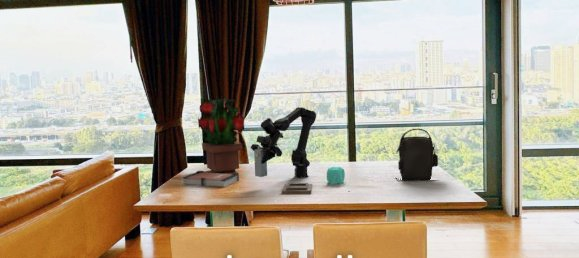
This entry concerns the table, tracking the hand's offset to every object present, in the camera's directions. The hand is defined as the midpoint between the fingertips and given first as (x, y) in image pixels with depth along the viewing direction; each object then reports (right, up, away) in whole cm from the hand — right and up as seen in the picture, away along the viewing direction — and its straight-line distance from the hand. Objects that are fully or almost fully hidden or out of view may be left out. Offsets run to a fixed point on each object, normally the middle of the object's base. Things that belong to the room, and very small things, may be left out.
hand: (258, 162), depth 248 cm
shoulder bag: (+86, -10, +12) cm, 87 cm away
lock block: (+1, -7, +2) cm, 7 cm away
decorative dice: (+41, -12, +10) cm, 44 cm away
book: (-28, -13, +18) cm, 36 cm away
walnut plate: (+20, -14, -5) cm, 25 cm away
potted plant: (-26, -9, +50) cm, 57 cm away
